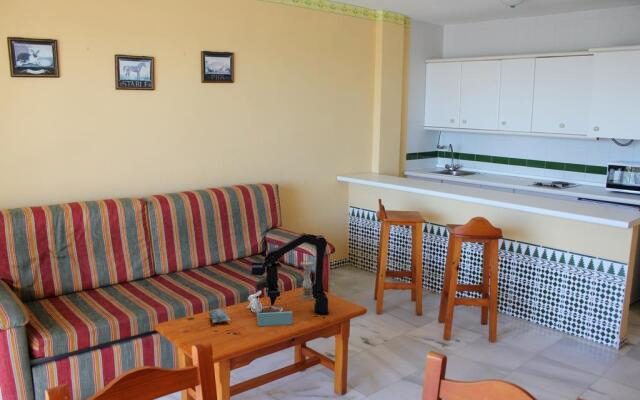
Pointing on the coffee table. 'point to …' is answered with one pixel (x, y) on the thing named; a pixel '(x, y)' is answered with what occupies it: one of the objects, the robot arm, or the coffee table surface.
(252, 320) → the coffee table surface
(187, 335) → the coffee table surface
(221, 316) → the packaged food
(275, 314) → the display stand
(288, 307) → the coffee table surface
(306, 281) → the candle holder
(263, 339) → the coffee table surface
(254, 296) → the rabbit figurine
